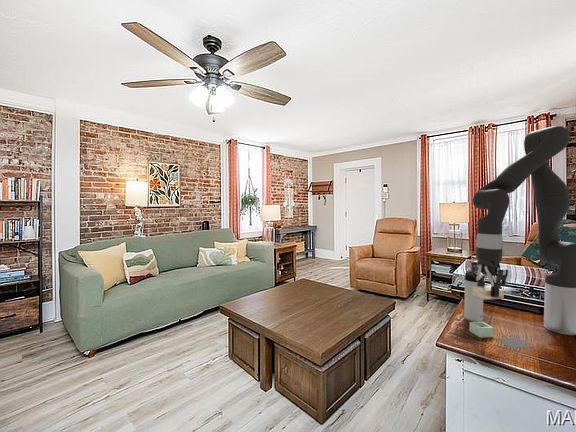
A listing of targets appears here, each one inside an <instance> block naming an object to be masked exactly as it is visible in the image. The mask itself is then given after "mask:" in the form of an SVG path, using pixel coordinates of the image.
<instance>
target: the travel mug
mask: <svg viewBox="0 0 576 432" xmlns="http://www.w3.org/2000/svg"><path fill="white" fill-rule="evenodd" d="M476 274H477V271H476ZM464 275H465V276H464V306H463V307H464V308H463V309H464V311H463V312H464V313H463V314H464V315H463V316H464V319H465V320H466V321H469V322H484V299H482V298H480V297H478V296H475V295H473V294H472V292H473V286H477V280H476V278H473V275H472V271H466V272H465V273H464ZM481 277H482V276H481Z"/></svg>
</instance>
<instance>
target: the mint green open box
mask: <svg viewBox="0 0 576 432" xmlns="http://www.w3.org/2000/svg"><path fill="white" fill-rule="evenodd" d="M469 332H470V333H472V334H473V335H475V336H476V337H478V338H481V339H482V338H483V339H485V338H494V327H493V326H491V325H489V324H488V323H486V322H485V321H483V322H471V321H469Z"/></svg>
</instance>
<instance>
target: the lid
mask: <svg viewBox="0 0 576 432" xmlns="http://www.w3.org/2000/svg"><path fill="white" fill-rule="evenodd" d="M491 286H492V285H485V286H473V292H472V294H473V295H475V296H478V297H480V298H482V299H483V300H504V299H505V298H504V296H505V295H504V294H505V293H504V292H505V290H504V289H501V288H499V296H498V297H492V296H491Z"/></svg>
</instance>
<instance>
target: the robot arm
mask: <svg viewBox="0 0 576 432" xmlns="http://www.w3.org/2000/svg"><path fill="white" fill-rule="evenodd" d="M570 140H571V133H570V132H569V130H568V129H567V128H566V127H565V126H563V125H554V126H549V127H545V128H541V129H537V130H533V131H531V132H528V133H527V134H526V136H525V137H524V141H523V147H524V153H525V155H524V156H522V157H520V158H519V159H518V160H516V161H514V162H512V163H510V164H509V165H508V166H507V167H506V168H505V169H503V171H501V172H500V173H499V174H498V175H497V177H495V178H494V179H493V180H492V181H490V182H488V183H487V184H485V185H483V186H481V188H479V189H478V190H477V191H476V193H475V194H474V195H473V198H472V204H473V206H474V207H475V208H476V209H478V210H484V211H485V210H487V214H486V215H485V216H484V215H483V216H481V217H479V218H478V220H477V230H476V231H477V233H476V239H475V240H476V241H475V245H476V246H475V259H476V260H477V261H470V265H471V272H472V275H473V278H476V280H477V286H486V278H487V279H488V280H489V282H490V284H491V285H490V286H491V296H492V297H498V296H499V289H500V287H505V286H506V284H507V278H508V273H509V270H508V269H507V268H502V267H501V265H500V264H501V261H503V249H504V248H503V247H504V245H503V243H504V241H503V221H504V219H505V217H506V214H507V211H508V208H509V205H510V196H509V194H511V193H513V192H515V191H516V190H517V189H518V188H519V187H521V185H522V184H523V183H524V182H525V180H526V179H528V177H530V176H531V181H532V187H533V195H534V196H533V197H534V203H535V210H536V216H537V224H538V251H539V255H540V258H541V259H542V261H543V262H544V263H545V264H549V265H553V266H558V267H559V269H558V272H555V273H548V274H546V275H545V276H544V300H543V302H544V305H543V309H544V310H543V327H544V328H545V329H546V330H548V331H551V332H554V333H556V334H561V335H567V336H576V242H570V241H563V240H560V238H559V227H560V224H561V223H562V221H563V219H564V218H565V217H566V215H567V213H568V212H569V210H570V207H571V200H570V192H569V188H568V186H567V184H566V183H565V182H564V180H562V178H561V177H560V176H558V174H556V173H555V172H554V170H553V169H552V167H551V166H550V163H549V160H551V159H552V158H554V157H555V156H556V155H558V154H559V153H561V152H562V151H563V150H564V149H566V147H567V146H568V145H569V144H570ZM476 272H477V274H476ZM481 276H482V277H481Z"/></svg>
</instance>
